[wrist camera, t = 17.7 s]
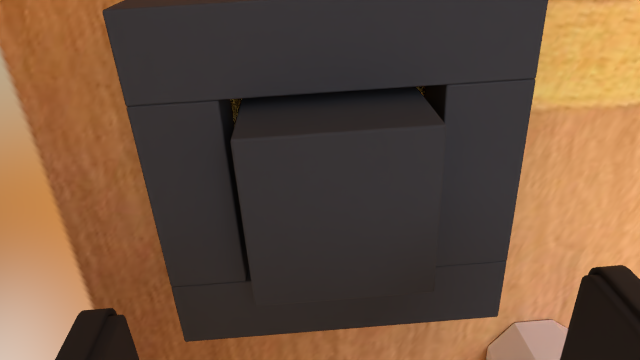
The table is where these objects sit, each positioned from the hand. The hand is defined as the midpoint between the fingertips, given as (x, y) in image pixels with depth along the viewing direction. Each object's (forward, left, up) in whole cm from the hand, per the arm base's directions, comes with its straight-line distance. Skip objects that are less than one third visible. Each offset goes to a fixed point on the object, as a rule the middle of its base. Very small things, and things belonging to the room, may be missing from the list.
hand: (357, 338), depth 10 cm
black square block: (0, 0, -10) cm, 9 cm away
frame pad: (0, 0, -10) cm, 10 cm away
